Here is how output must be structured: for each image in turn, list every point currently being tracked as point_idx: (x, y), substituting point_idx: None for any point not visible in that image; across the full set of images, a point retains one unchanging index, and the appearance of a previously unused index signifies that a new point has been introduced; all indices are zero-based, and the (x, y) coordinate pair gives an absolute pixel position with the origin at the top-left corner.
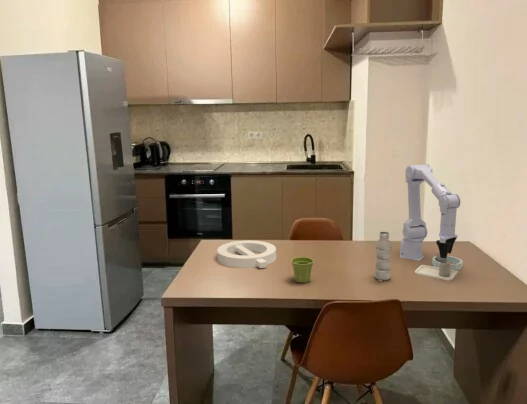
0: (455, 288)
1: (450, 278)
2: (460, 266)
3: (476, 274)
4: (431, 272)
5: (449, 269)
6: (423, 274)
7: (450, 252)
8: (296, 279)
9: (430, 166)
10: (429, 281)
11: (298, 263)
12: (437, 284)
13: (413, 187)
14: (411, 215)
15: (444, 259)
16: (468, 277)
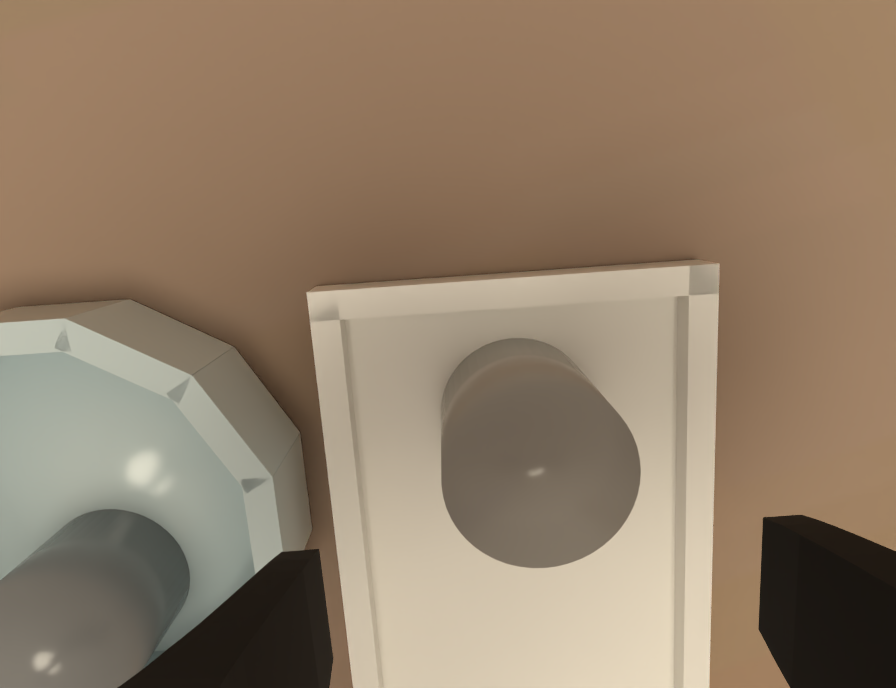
0: (880, 143)
1: (687, 284)
2: (103, 312)
3: (127, 52)
4: (519, 572)
5: (563, 369)
6: (708, 619)
7: (311, 565)
8: None
9: None
10: (800, 491)
11: None
12: (853, 380)
13: None
14: None
15: (107, 587)
16: (339, 118)
